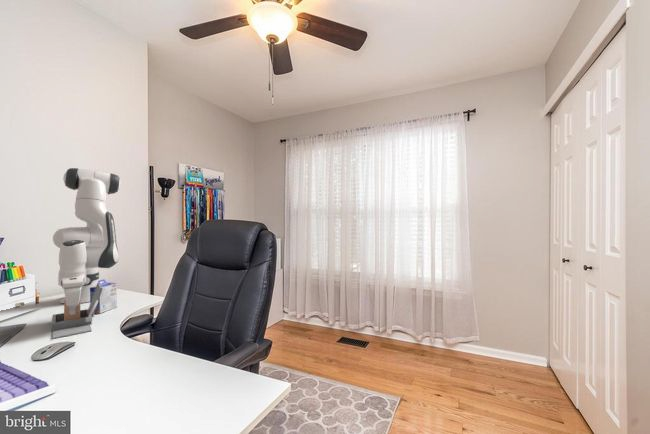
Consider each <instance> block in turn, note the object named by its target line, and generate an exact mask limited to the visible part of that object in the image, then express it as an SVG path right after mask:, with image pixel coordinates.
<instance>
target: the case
mask: <svg viewBox="0 0 650 434" xmlns="http://www.w3.org/2000/svg"><path fill="white" fill-rule="evenodd" d="M102 289H103V288H102V286H101V284H100V282H98V283H97V286H96V289H95V291H94V294H93V297H92V300H91V303H89V306H88V309H87V308H86V309H80V319H75V320H69V321H64V312H61V313H56V314H52V316H51V317H52V321H51V333H53V331H57V330H62V329H68V328H73V327H78V326H83V325H89V324H90V325H93V324H92V323H93V318H94V316H95V314H96V313H95V310H96V307H97V304H98V301H99V298H100V295H101V292H102Z"/></svg>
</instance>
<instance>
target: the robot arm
mask: <svg viewBox="0 0 650 434" xmlns="http://www.w3.org/2000/svg"><path fill="white" fill-rule="evenodd" d="M62 179H63V183H64V186H65V187H66V188H67V189H71V190H73V191H75V190H76V191H77V192H76V196H75V201H74V210H75V212H74V215H75V217H76V218H77V219H79V220H80V221H82V222H85V223H86V226H75V227H74V226H73V227H72V226H71V227H64V228H59V229H57V230H56V231H55V232H54V234H53V236H52V242H53V244H54V246H56V247H57V248H59V253H58V265H59V270H58V277H57V278H58V279H57V282H58V283H57V284H58V286H60V287H61V288H62V289H63V291H64V297H63V298H62V299H61V300H60V304H64V299H66V305H67V307H69V314H70V315H73V314H75V309H76V306H78V305H79V302H80V304H83V303H84V304H85V303H89V302H90V288H91V287H94V286H97V283H98V281H99V280H100V272H99V269H110V268H112V267H113V266H115V265H116V264H118V263H119V262H118V261H119V257H120V256H119V255H120V254H119V249H118V245H117V238H116V237H117V236H116V226H115V221H114V216H113V214H112V213H111V212H109V211H108V209H107V195H113V194H116V193H118V191H119V190H120V188H121V185H122V183H121V182H122V181H121V179H120V176H119V175H117V174H115V173H108V172H105V171H100V170H96V169H95V170H93V169H83V168H77V167H73V168H72V167H71V168H68V169H67V170H66V171H65V173H64V174H63V177H62ZM100 283H103V281H101V282H100Z"/></svg>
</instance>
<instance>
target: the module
mask: <svg viewBox="0 0 650 434" xmlns="http://www.w3.org/2000/svg"><path fill="white" fill-rule="evenodd" d="M80 310H81V303H80V302H79V305H78V306H76V309H75V314H73V315H70V314H69V307H67V305H66V299H64V303H63V313H64V321H69V320H75V319H81V318H80Z"/></svg>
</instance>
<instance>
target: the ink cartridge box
mask: <svg viewBox="0 0 650 434" xmlns="http://www.w3.org/2000/svg"><path fill="white" fill-rule="evenodd" d="M98 282H102V283H100V284H101V286H102V288H103V289H102V292H101V295H100V298H99V301H98V304H97V307H96V310H95V313H94V314H95V315H96V314H98V315H99V314H100V315H101V314H102V313H106V312H108V311H110V310H112V309H116V308H117V307H118V288H117V287H118V283H117V282H107V281H106V279H99V281H98ZM95 289H96V286H94V287H91V288H90V303H91V300H92V297H93V294H94V291H95ZM90 303H89V304H90Z"/></svg>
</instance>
